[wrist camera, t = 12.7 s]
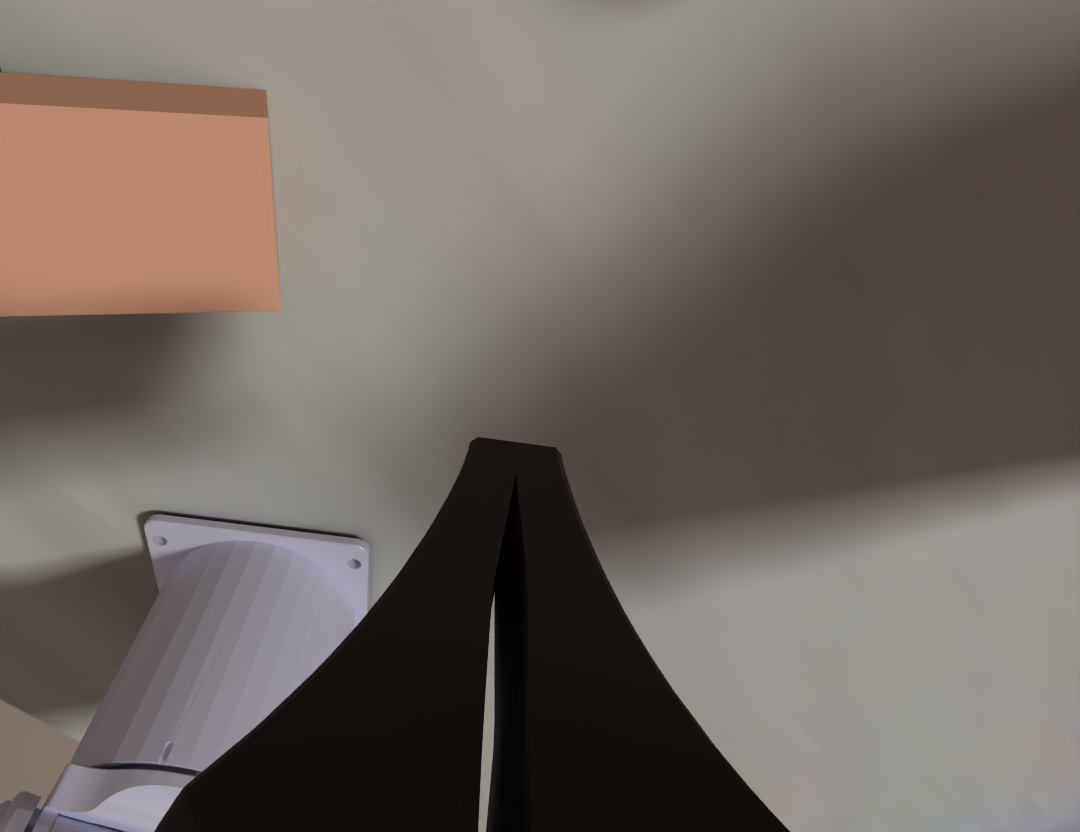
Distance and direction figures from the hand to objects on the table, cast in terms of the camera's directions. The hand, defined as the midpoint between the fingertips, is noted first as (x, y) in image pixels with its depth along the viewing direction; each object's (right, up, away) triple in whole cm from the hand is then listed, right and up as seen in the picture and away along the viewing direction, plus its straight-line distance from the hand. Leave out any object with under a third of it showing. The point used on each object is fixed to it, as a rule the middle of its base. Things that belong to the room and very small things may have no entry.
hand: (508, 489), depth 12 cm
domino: (-6, +7, +7) cm, 11 cm away
